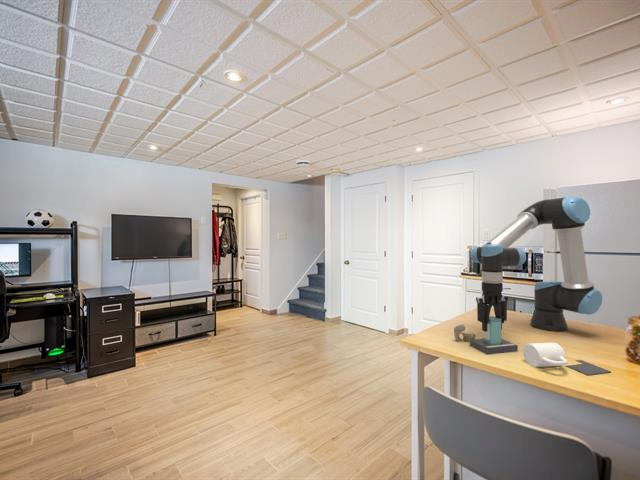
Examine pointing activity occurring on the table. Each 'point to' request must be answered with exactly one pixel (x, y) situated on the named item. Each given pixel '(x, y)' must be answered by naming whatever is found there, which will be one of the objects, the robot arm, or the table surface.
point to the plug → (494, 331)
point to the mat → (588, 368)
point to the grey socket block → (493, 346)
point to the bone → (465, 334)
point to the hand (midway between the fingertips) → (492, 338)
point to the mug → (544, 354)
